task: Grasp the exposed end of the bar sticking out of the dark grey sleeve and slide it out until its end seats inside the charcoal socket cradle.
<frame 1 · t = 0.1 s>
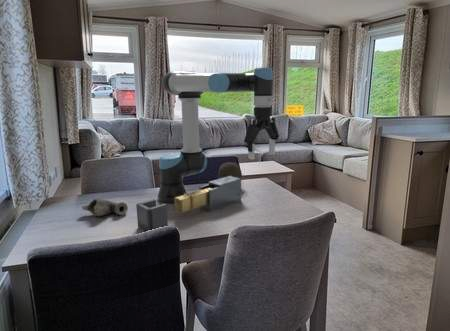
hand: (261, 156, 139), 28 cm above the table, tool pointing down, fingers open, 13 cm apart
sleeve: (220, 204, 163), on the table
cantaloupe: (229, 188, 188), on the table
pipe: (105, 215, 150), on the table
bar: (204, 196, 154), point 6 cm above the table, slide at 0.0 cm
socket: (152, 227, 136), on the table
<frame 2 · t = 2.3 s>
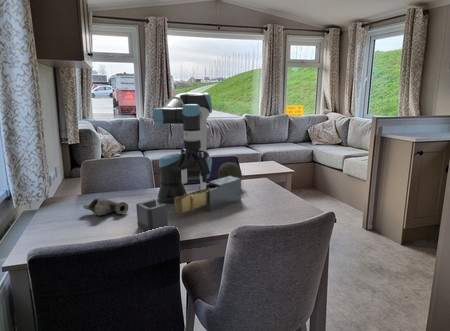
hand: (193, 186, 148), 13 cm above the table, tool pointing down, fingers open, 13 cm apart
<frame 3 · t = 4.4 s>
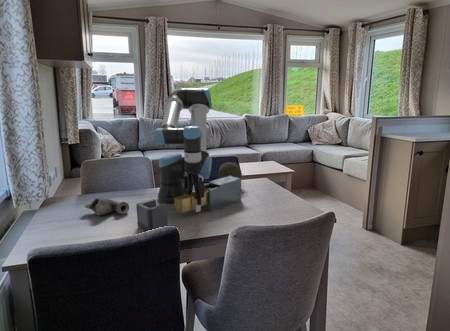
hand: (194, 209, 151), 2 cm above the table, tool pointing down, fingers closed on bar, 4 cm apart
bar: (204, 196, 154), point 6 cm above the table, slide at 0.0 cm, touching gripper
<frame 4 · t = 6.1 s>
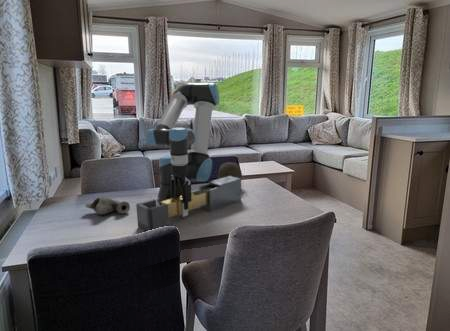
hand: (181, 214, 146), 2 cm above the table, tool pointing down, fingers closed on bar, 4 cm apart
bar: (192, 200, 149), point 6 cm above the table, slide at 7.4 cm, touching gripper
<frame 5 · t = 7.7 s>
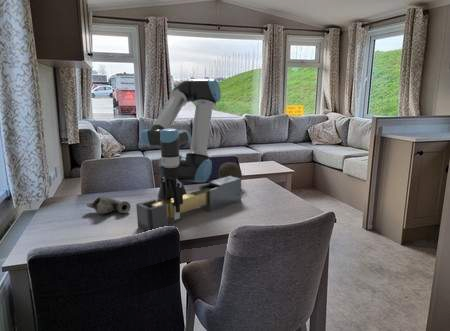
hand: (173, 216, 143), 2 cm above the table, tool pointing down, fingers closed on bar, 4 cm apart
bar: (184, 203, 146), point 6 cm above the table, slide at 12.0 cm, touching gripper
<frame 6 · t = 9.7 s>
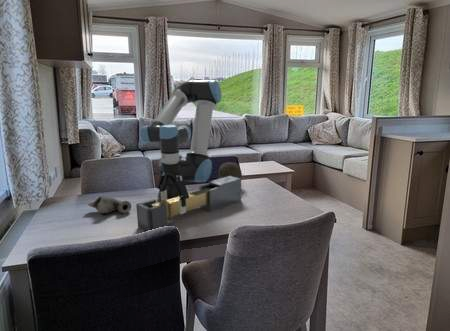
hand: (173, 208, 143), 5 cm above the table, tool pointing down, fingers open, 13 cm apart
bar: (184, 203, 146), point 6 cm above the table, slide at 12.0 cm
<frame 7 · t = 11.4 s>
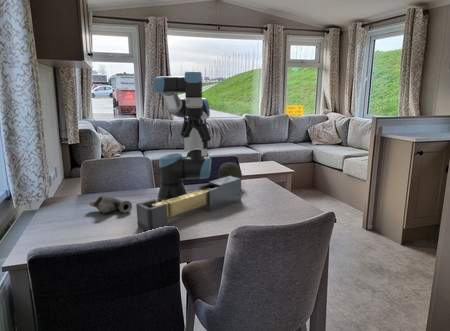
hand: (195, 153, 151), 27 cm above the table, tool pointing down, fingers open, 13 cm apart
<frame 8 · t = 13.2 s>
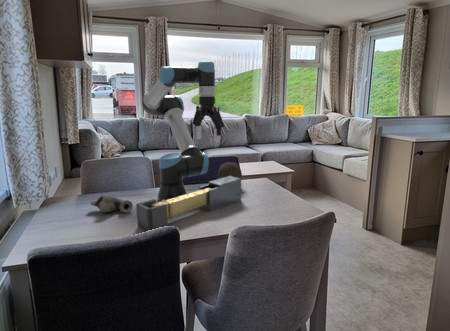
hand: (208, 140, 158), 32 cm above the table, tool pointing down, fingers open, 13 cm apart
at the end: bar slide at 12.0 cm; the gripper is holding nothing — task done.
